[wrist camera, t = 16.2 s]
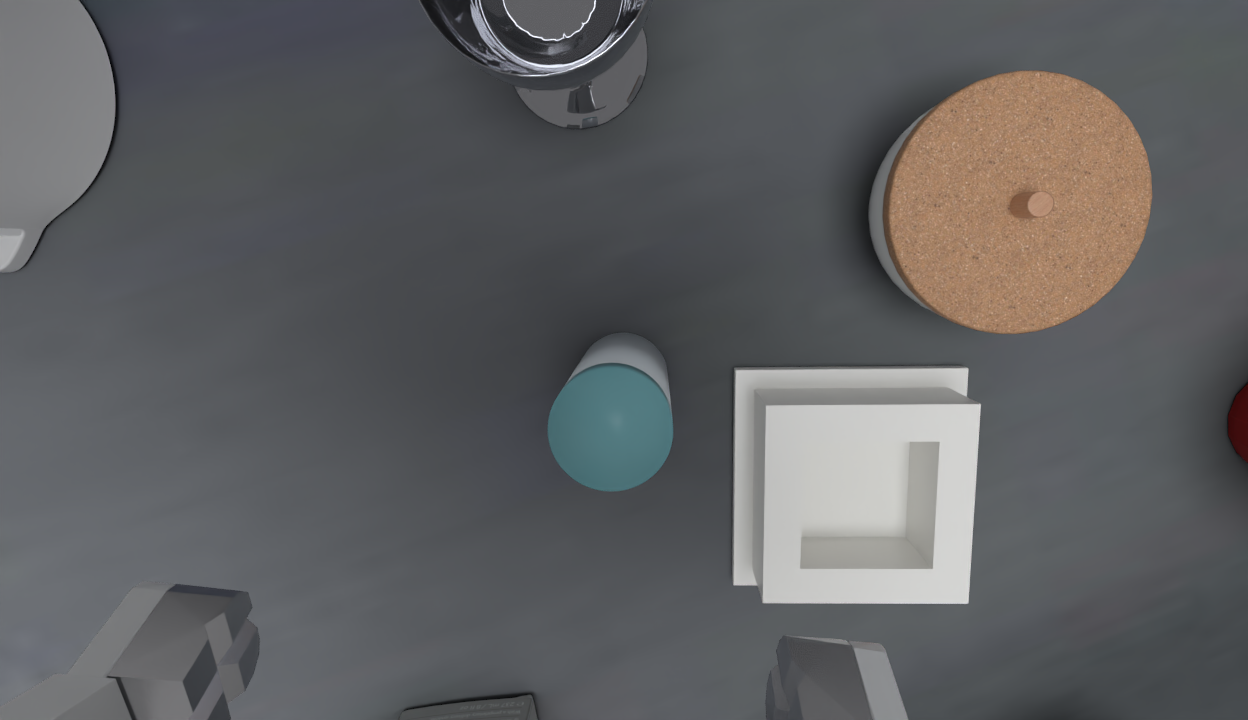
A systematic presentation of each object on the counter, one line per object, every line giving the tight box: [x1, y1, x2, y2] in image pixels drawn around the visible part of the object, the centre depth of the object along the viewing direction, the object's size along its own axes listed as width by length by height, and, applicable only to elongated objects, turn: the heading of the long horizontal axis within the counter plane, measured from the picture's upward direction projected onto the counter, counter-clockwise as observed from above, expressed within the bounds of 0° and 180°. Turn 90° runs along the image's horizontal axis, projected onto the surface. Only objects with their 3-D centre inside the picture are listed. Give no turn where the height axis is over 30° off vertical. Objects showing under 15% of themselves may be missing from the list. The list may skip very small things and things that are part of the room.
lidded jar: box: [868, 71, 1152, 334], centre depth 34 cm, size 11×11×9 cm
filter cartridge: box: [548, 332, 673, 491], centre depth 35 cm, size 5×5×12 cm
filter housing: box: [732, 366, 981, 604], centre depth 39 cm, size 12×12×5 cm
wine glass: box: [418, 0, 653, 129], centre depth 31 cm, size 8×8×15 cm
